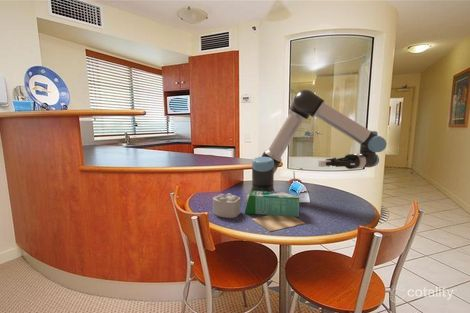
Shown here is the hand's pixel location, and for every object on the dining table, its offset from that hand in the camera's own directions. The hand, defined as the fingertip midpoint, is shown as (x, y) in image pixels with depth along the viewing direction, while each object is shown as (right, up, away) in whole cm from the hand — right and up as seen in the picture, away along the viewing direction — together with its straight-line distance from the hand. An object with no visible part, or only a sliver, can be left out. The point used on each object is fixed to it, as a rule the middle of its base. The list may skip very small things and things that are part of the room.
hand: (319, 163), depth 117 cm
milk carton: (-10, -19, -2) cm, 22 cm away
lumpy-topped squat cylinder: (-45, -24, 0) cm, 51 cm away
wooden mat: (-22, -25, -10) cm, 34 cm away
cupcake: (-2, -18, +40) cm, 44 cm away
